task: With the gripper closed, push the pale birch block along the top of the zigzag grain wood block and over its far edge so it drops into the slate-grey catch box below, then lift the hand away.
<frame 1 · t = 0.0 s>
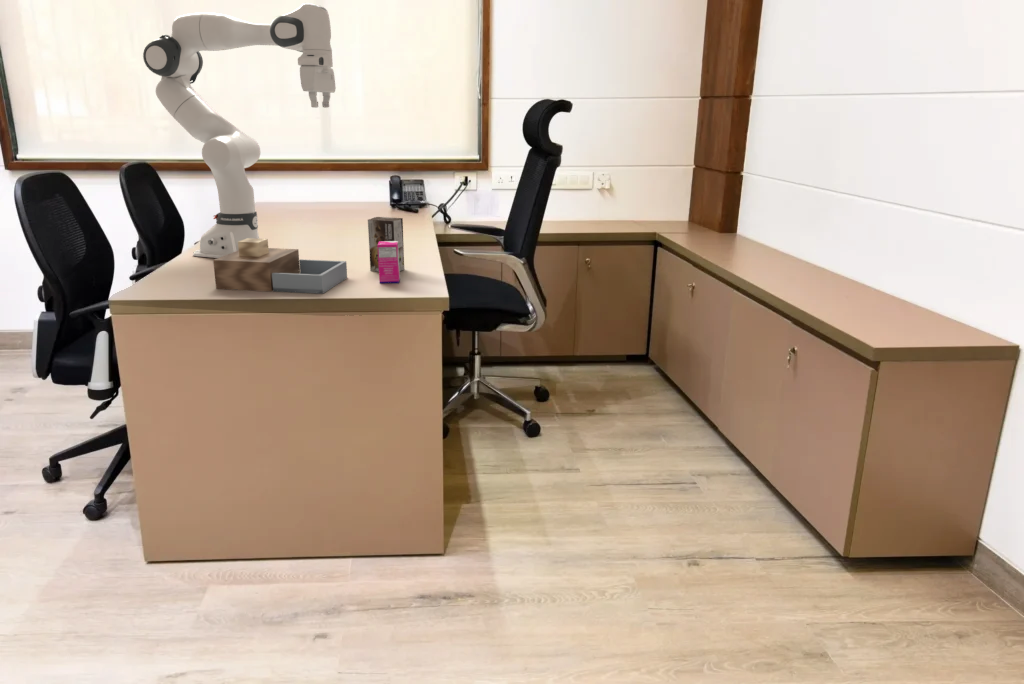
hand: (320, 107, 236), 48 cm above the table, fingers open, 8 cm apart
birch block: (254, 254, 212), point 8 cm above the table, touching zigzag grain wood block
coffee box: (387, 270, 233), on the table
catch box: (311, 284, 213), on the table
zigzag grain wood block: (259, 281, 215), on the table
supplement box: (389, 282, 218), on the table
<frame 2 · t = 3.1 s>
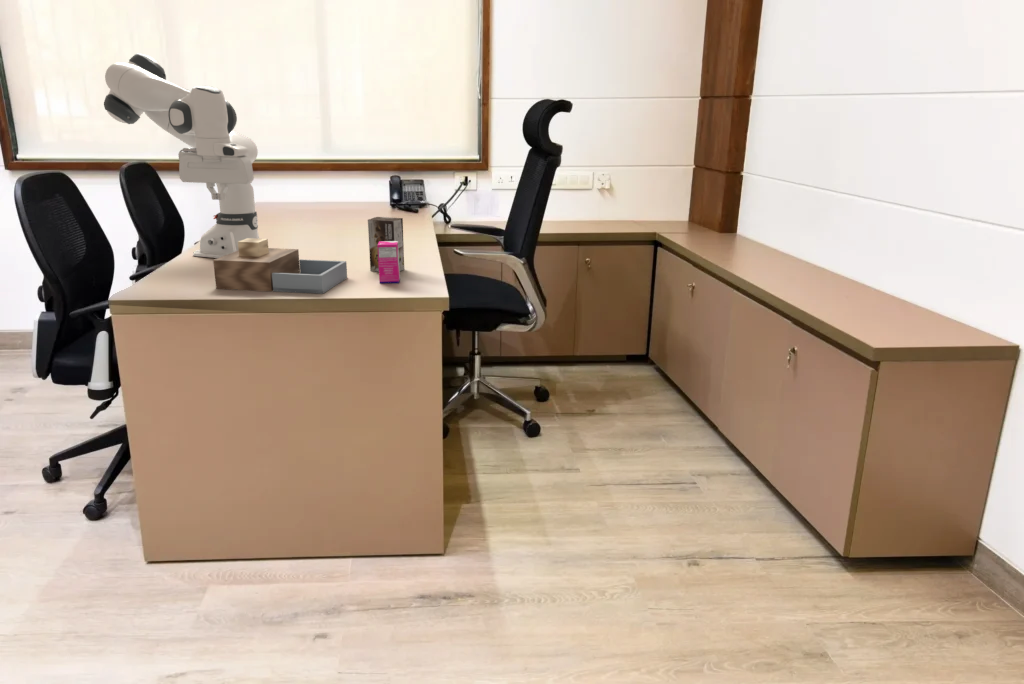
hand: (218, 199, 209), 23 cm above the table, fingers closed
nothing on the table moved.
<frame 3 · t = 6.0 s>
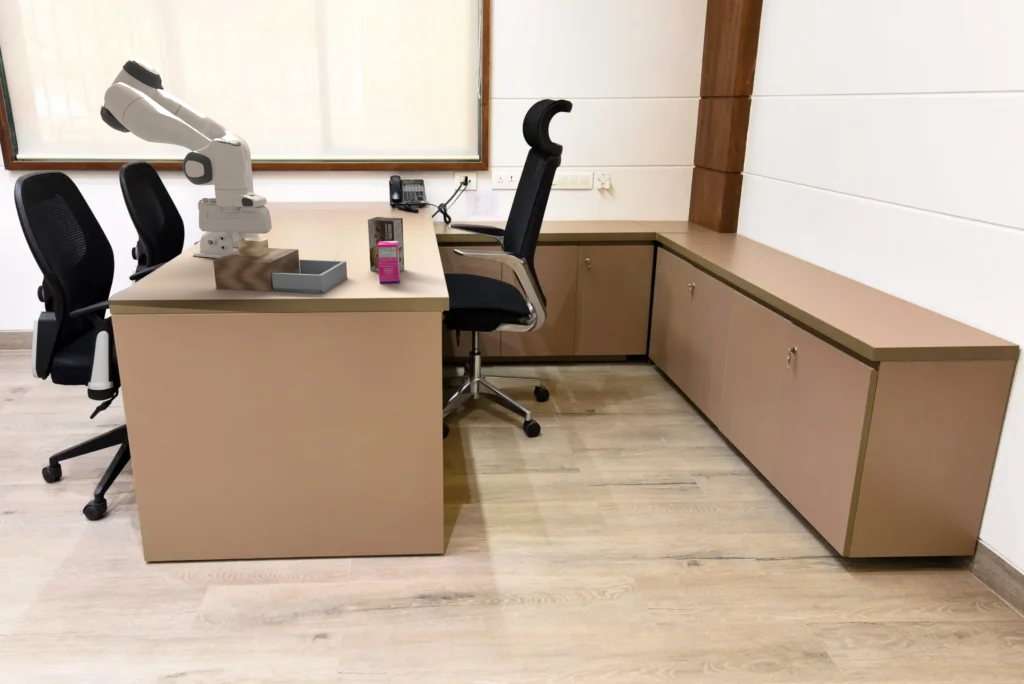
hand: (237, 248, 212), 10 cm above the table, fingers closed
birch block: (254, 254, 212), point 8 cm above the table, touching zigzag grain wood block, gripper
everything else where it was.
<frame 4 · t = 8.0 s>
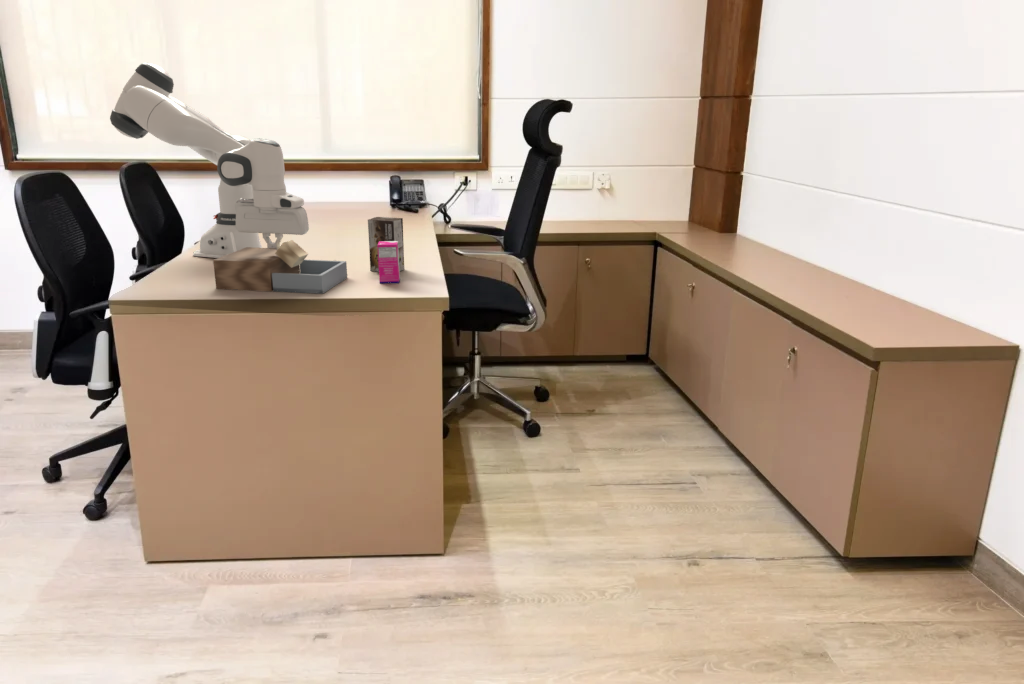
hand: (273, 249, 211), 10 cm above the table, fingers closed
birch block: (287, 258, 211), point 7 cm above the table, tilted 39°
everything else where it was.
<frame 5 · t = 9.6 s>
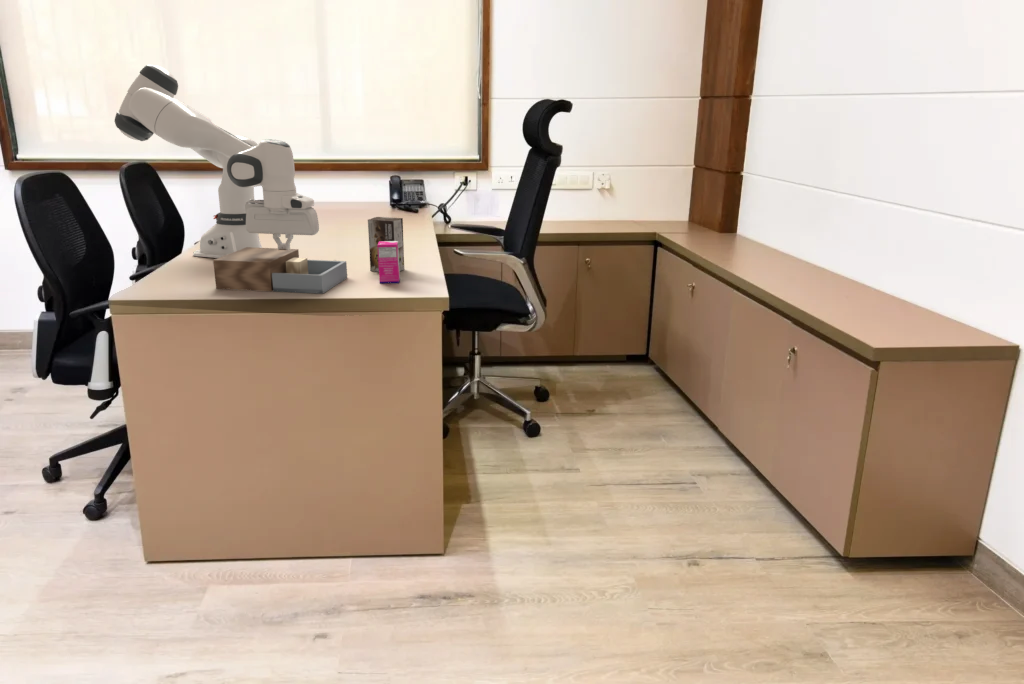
hand: (284, 249, 211), 10 cm above the table, fingers closed
birch block: (290, 270, 212), point 4 cm above the table, tilted 90°, touching catch box
everything else where it was.
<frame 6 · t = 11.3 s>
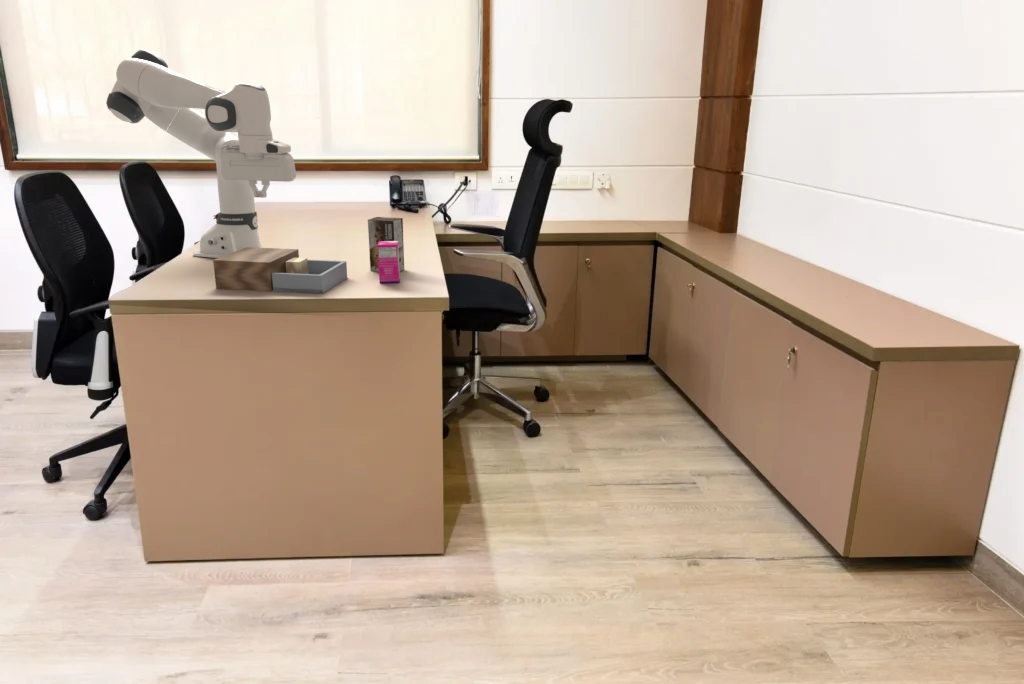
hand: (260, 197, 207), 24 cm above the table, fingers closed
nothing on the table moved.
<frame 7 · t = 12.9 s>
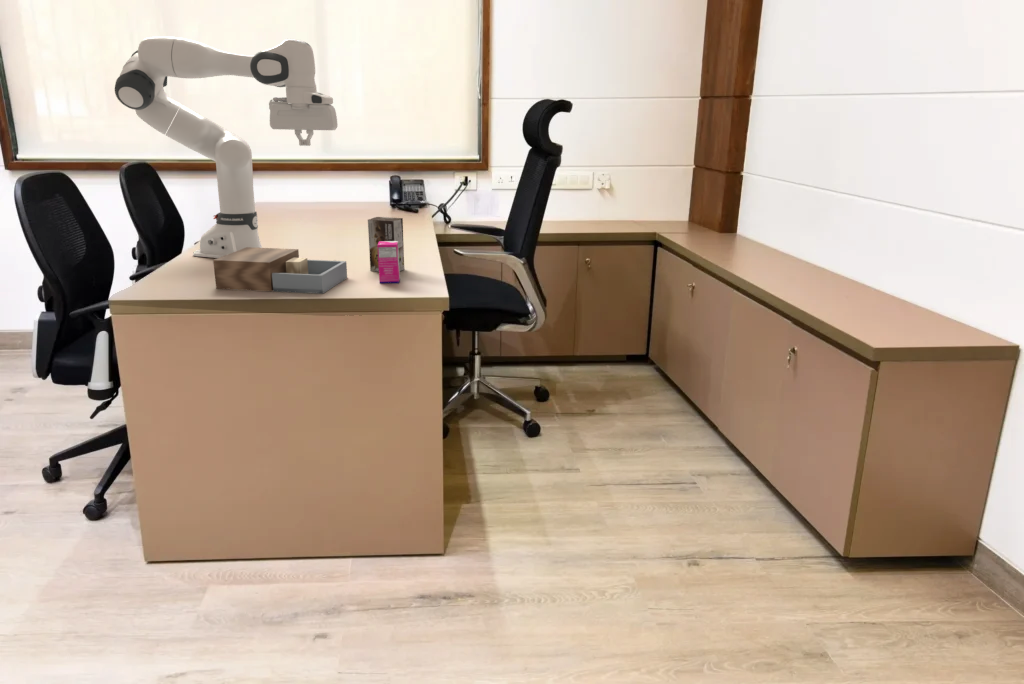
hand: (304, 145, 227), 37 cm above the table, fingers closed
nothing on the table moved.
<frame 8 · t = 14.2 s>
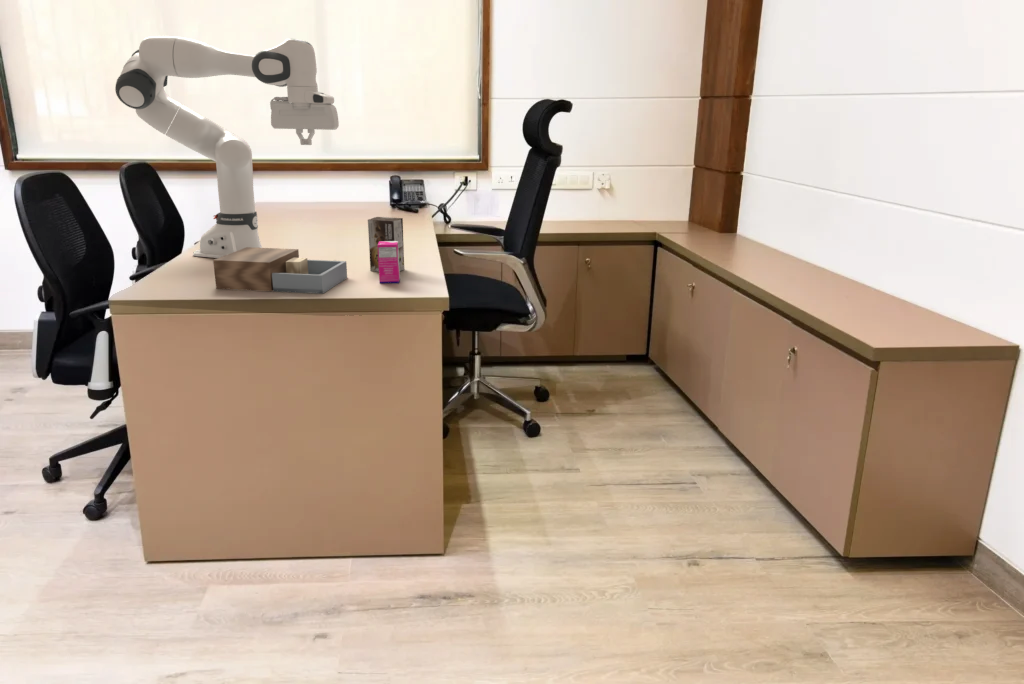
hand: (306, 144, 228), 37 cm above the table, fingers closed
nothing on the table moved.
at the end: birch block inside the target area on the catch box (5.1 cm from its centre), point 4.0 cm above the catch box's base; birch block moved 11.4 cm from its start; the gripper is holding nothing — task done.
